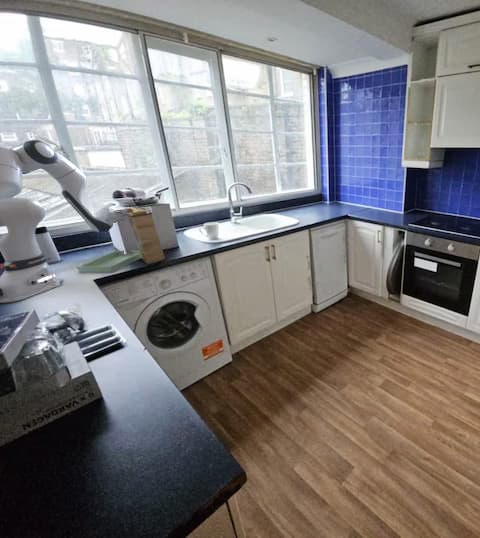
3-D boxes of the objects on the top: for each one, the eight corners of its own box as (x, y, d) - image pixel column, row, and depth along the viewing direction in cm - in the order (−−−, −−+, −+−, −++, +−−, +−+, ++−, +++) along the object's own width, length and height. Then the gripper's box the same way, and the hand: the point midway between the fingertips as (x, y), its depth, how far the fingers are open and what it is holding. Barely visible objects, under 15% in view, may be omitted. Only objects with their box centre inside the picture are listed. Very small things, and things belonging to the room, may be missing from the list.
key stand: (166, 259, 160) (151, 212, 150) (148, 264, 154) (131, 215, 144) (158, 255, 167) (144, 210, 156) (141, 260, 160) (125, 213, 150)
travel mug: (52, 264, 157) (34, 228, 149) (42, 264, 159) (25, 228, 151) (65, 260, 163) (49, 225, 155) (55, 259, 164) (39, 224, 156)
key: (146, 212, 149) (145, 210, 148) (135, 214, 146) (134, 212, 145) (136, 208, 160) (135, 206, 160) (125, 210, 157) (124, 207, 156)
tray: (112, 272, 146) (110, 266, 144) (79, 272, 147) (76, 266, 145) (146, 255, 167) (145, 250, 166) (117, 255, 168) (115, 250, 167)
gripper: (103, 216, 157) (104, 206, 147) (147, 210, 172) (150, 200, 162) (108, 227, 158) (110, 218, 148) (151, 220, 172) (155, 210, 162)
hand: (131, 208), depth 155 cm, fingers closed on key, 3 cm apart
